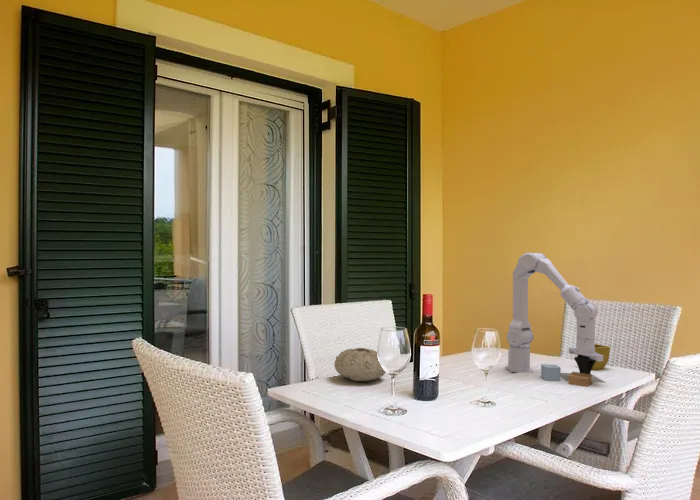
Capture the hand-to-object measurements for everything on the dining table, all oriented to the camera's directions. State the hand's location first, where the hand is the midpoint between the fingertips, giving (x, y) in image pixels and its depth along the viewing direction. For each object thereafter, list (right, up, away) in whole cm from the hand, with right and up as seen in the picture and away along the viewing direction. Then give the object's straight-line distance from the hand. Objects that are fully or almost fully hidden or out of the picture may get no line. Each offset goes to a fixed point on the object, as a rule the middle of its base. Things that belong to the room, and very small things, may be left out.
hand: (585, 378), depth 181 cm
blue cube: (-11, -1, +2) cm, 11 cm away
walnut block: (-3, -1, -4) cm, 5 cm away
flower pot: (+12, -2, +22) cm, 25 cm away
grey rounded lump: (-76, 0, -1) cm, 76 cm away
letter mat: (0, -1, +5) cm, 6 cm away
